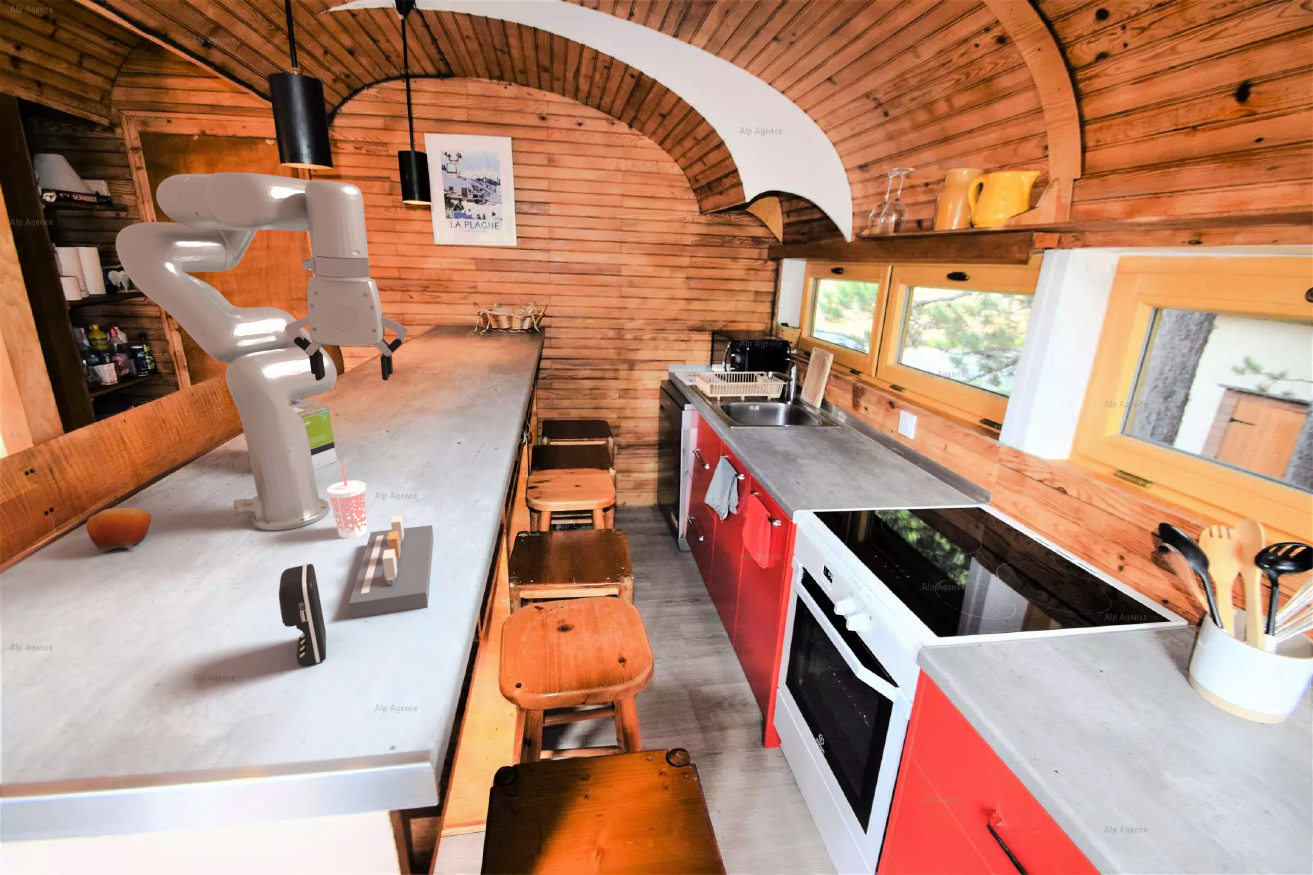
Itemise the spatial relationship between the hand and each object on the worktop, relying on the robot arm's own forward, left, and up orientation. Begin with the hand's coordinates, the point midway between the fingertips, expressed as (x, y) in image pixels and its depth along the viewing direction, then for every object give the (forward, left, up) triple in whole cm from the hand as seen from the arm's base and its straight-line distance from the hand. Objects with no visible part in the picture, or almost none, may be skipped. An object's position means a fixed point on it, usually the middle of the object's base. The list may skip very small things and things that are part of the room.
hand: (353, 378), depth 93 cm
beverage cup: (-4, +4, -30) cm, 30 cm away
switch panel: (+5, -13, -29) cm, 32 cm away
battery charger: (-4, -30, -30) cm, 42 cm away
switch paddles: (+5, -13, -26) cm, 30 cm away
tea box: (-22, +45, -30) cm, 58 cm away
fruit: (-40, +9, -30) cm, 51 cm away
